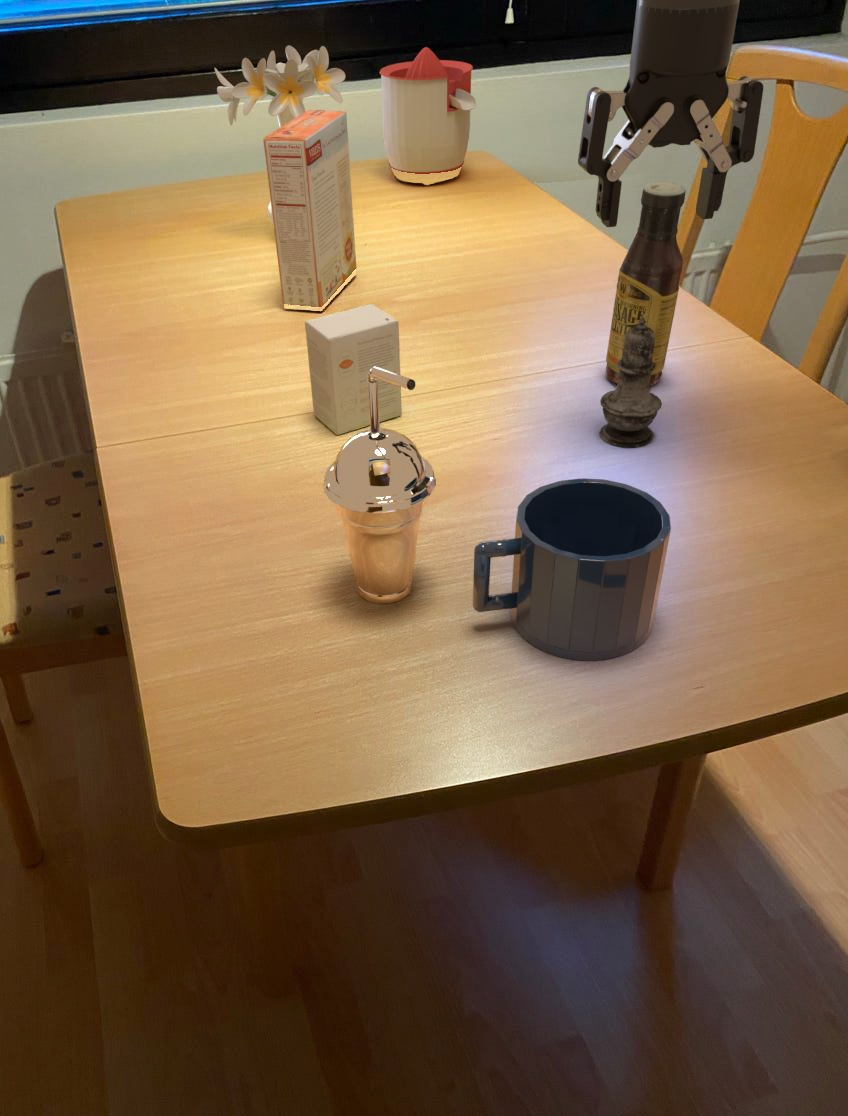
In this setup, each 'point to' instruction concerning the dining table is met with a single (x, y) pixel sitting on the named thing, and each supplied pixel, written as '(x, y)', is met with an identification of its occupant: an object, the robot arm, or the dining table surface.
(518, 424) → the dining table surface
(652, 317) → the sauce bottle
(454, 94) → the citrus juicer
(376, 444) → the cup with straw
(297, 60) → the flower vase
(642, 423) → the salt shaker
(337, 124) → the cracker box
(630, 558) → the mug
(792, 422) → the dining table surface
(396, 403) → the small box
